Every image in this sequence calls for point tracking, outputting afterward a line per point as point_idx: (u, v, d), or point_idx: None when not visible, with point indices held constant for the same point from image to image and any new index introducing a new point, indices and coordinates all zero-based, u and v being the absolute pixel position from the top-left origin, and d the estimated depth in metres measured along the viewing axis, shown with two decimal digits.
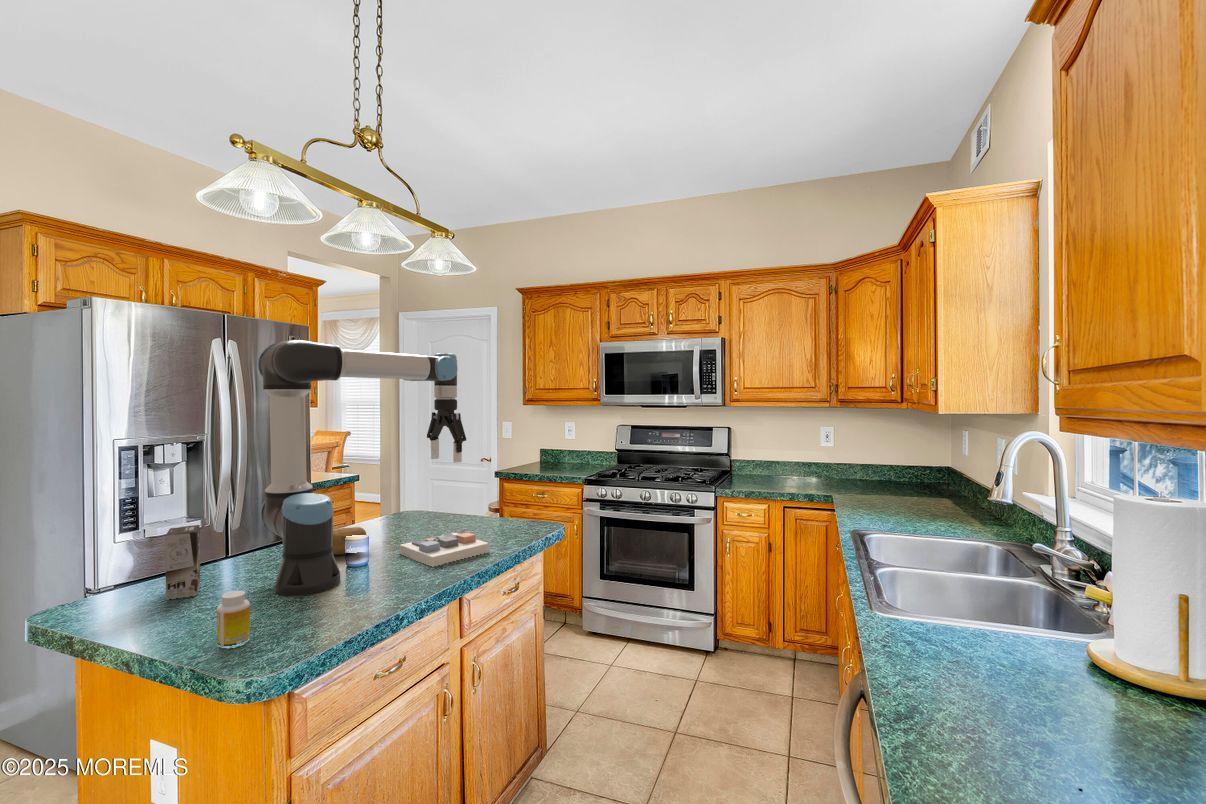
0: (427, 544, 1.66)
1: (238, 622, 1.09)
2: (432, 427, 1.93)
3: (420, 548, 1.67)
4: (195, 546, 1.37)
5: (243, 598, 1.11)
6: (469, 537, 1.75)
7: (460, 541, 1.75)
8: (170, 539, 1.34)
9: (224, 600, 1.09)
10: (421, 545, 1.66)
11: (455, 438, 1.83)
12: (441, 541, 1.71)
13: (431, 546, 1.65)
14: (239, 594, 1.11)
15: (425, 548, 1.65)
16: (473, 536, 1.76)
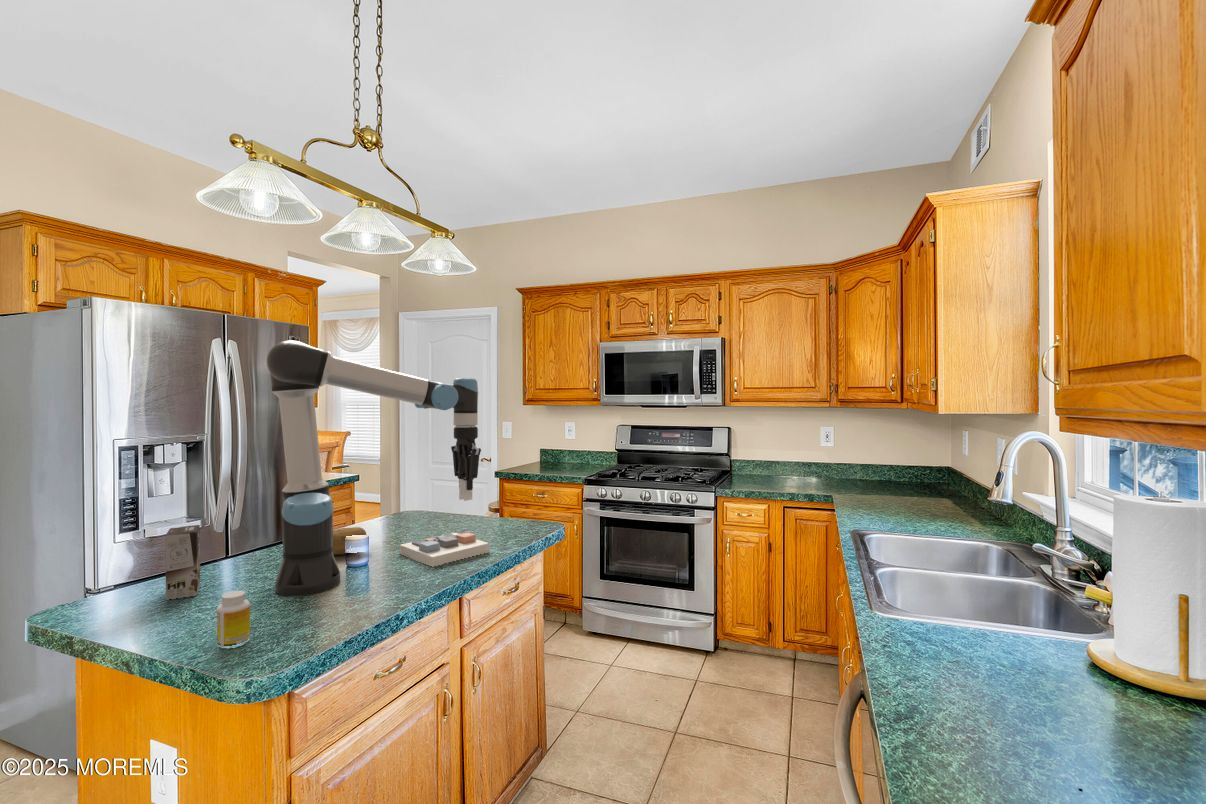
0: (427, 544, 1.66)
1: (238, 622, 1.09)
2: (456, 462, 1.79)
3: (420, 548, 1.67)
4: (195, 546, 1.37)
5: (243, 598, 1.11)
6: (469, 537, 1.75)
7: (460, 541, 1.75)
8: (170, 539, 1.34)
9: (224, 600, 1.09)
10: (421, 545, 1.66)
11: (467, 475, 1.74)
12: (441, 541, 1.71)
13: (431, 546, 1.65)
14: (239, 594, 1.11)
15: (425, 548, 1.65)
16: (473, 536, 1.76)
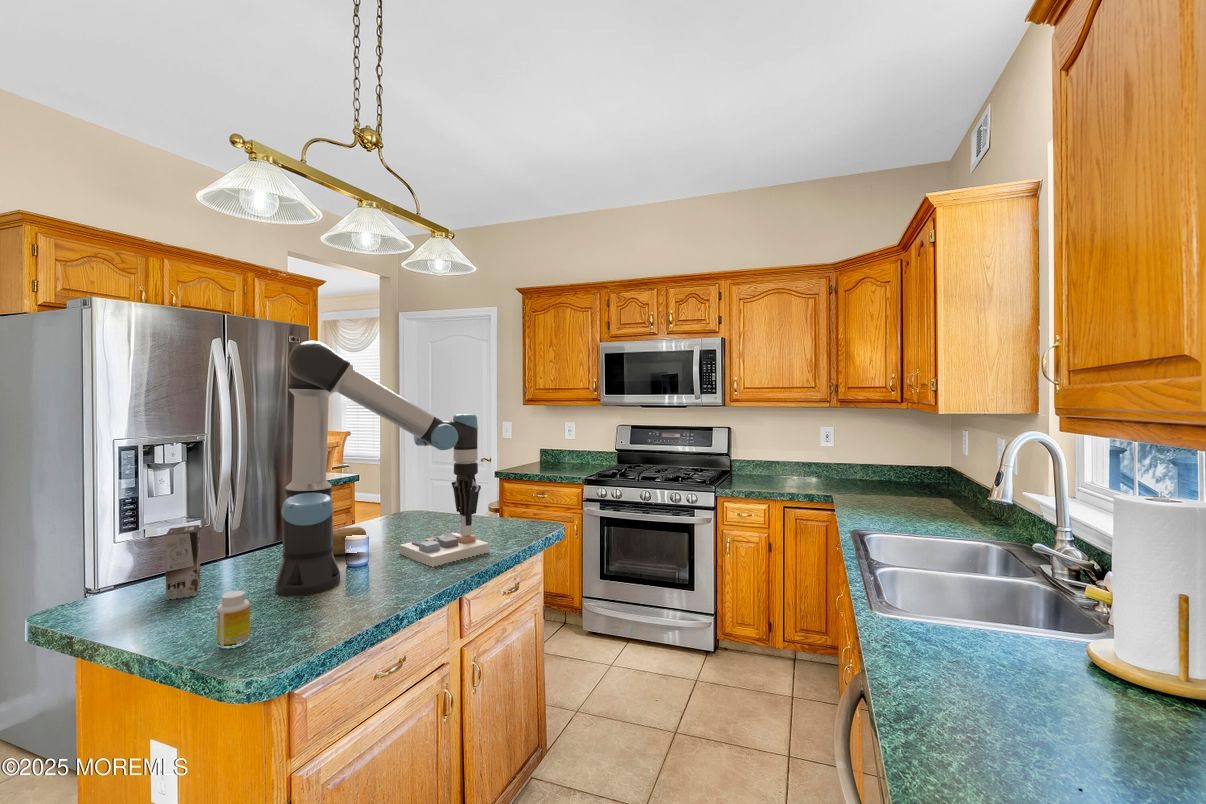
0: (427, 544, 1.66)
1: (238, 622, 1.09)
2: (458, 497, 1.78)
3: (420, 548, 1.67)
4: (195, 546, 1.37)
5: (243, 598, 1.11)
6: (469, 538, 1.75)
7: (460, 542, 1.75)
8: (170, 539, 1.34)
9: (224, 600, 1.09)
10: (421, 545, 1.66)
11: (466, 511, 1.75)
12: (441, 541, 1.71)
13: (431, 546, 1.65)
14: (239, 594, 1.11)
15: (425, 548, 1.65)
16: (473, 537, 1.77)
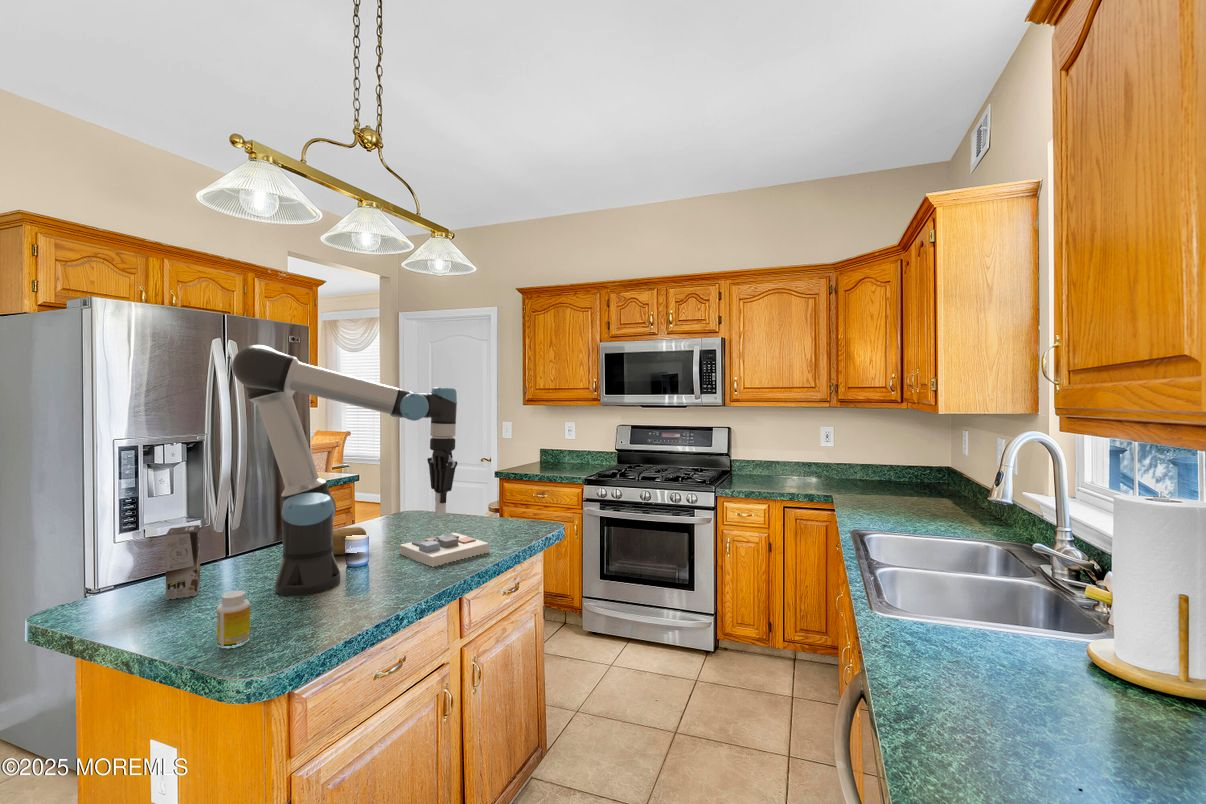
0: (427, 544, 1.66)
1: (238, 622, 1.09)
2: (433, 474, 1.72)
3: (420, 548, 1.67)
4: (195, 546, 1.37)
5: (243, 598, 1.11)
6: (469, 542, 1.75)
7: None
8: (170, 539, 1.34)
9: (224, 600, 1.09)
10: (421, 545, 1.66)
11: (440, 488, 1.68)
12: (441, 541, 1.71)
13: (431, 546, 1.65)
14: (239, 594, 1.11)
15: (425, 548, 1.65)
16: (473, 541, 1.77)
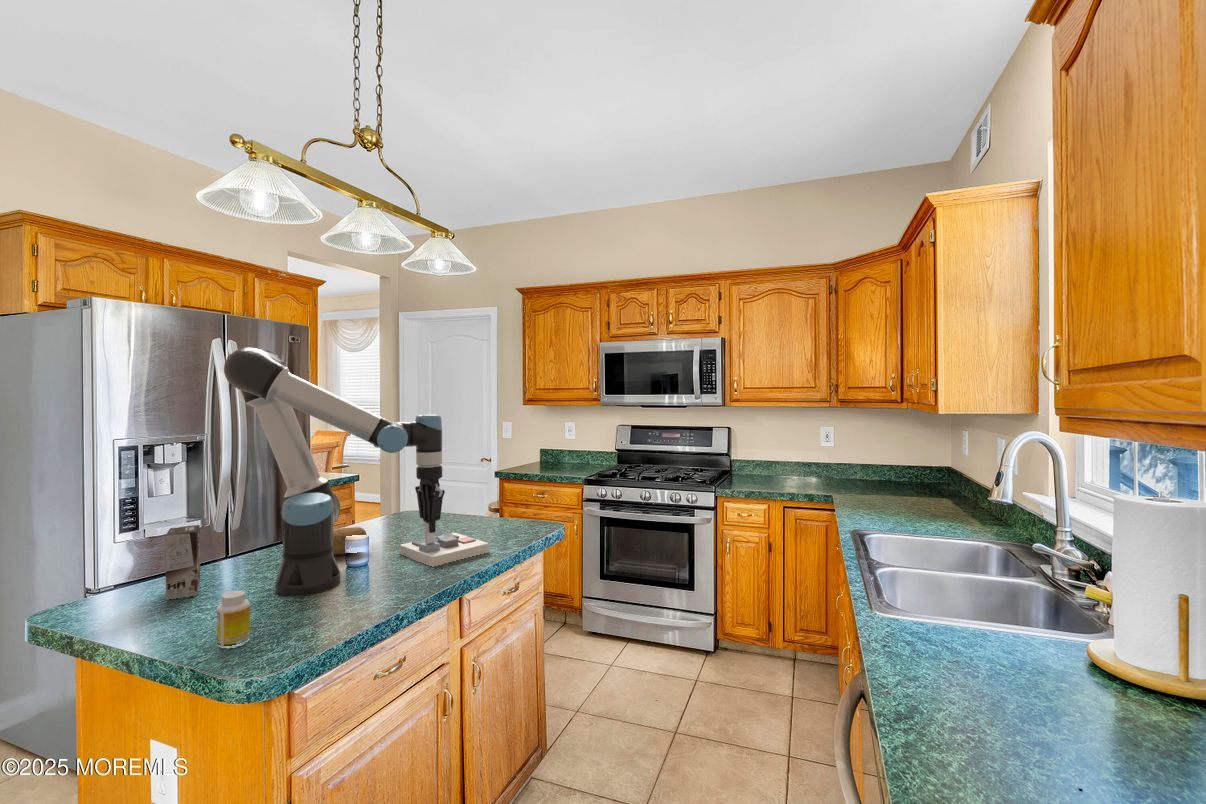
0: (427, 544, 1.66)
1: (238, 622, 1.09)
2: (421, 503, 1.69)
3: (420, 548, 1.67)
4: (195, 546, 1.37)
5: (243, 598, 1.11)
6: (469, 542, 1.75)
7: None
8: (170, 539, 1.34)
9: (224, 600, 1.09)
10: (421, 545, 1.66)
11: (429, 517, 1.65)
12: (441, 541, 1.71)
13: (431, 546, 1.65)
14: (239, 594, 1.11)
15: (425, 548, 1.65)
16: (473, 541, 1.77)
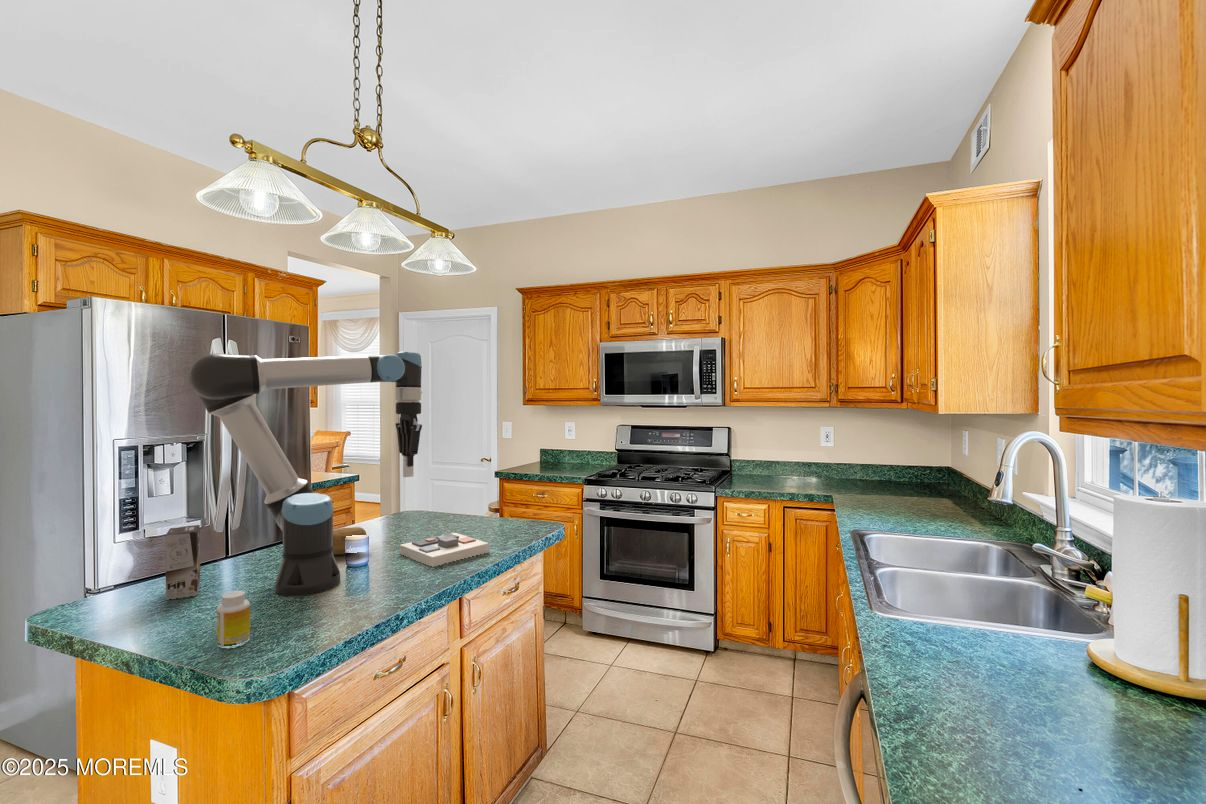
0: (427, 549, 1.66)
1: (238, 622, 1.09)
2: (401, 438, 1.74)
3: None
4: (195, 546, 1.37)
5: (243, 598, 1.11)
6: (469, 542, 1.75)
7: None
8: (170, 539, 1.34)
9: (224, 600, 1.09)
10: (421, 550, 1.66)
11: (407, 451, 1.70)
12: (441, 541, 1.71)
13: (431, 551, 1.65)
14: (239, 594, 1.11)
15: None
16: (473, 541, 1.77)
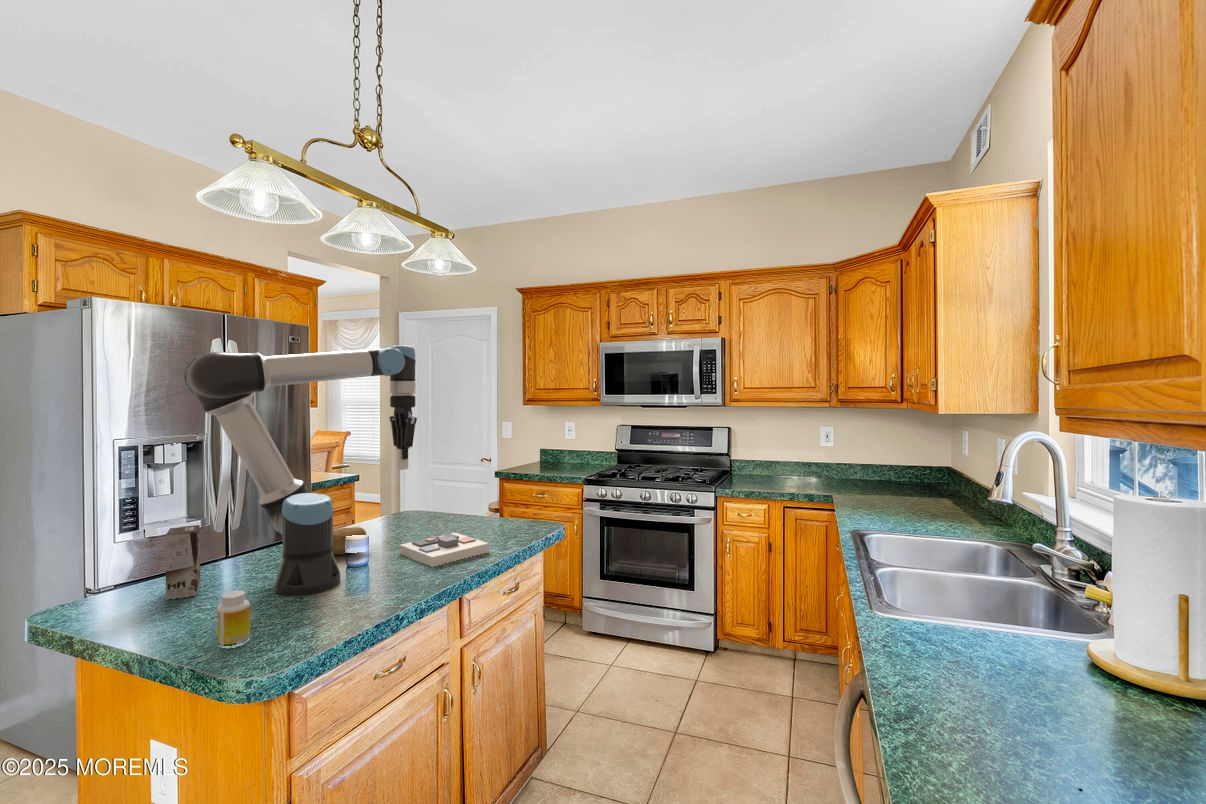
0: (427, 549, 1.66)
1: (238, 622, 1.09)
2: (395, 431, 1.76)
3: None
4: (195, 546, 1.37)
5: (243, 598, 1.11)
6: (469, 542, 1.75)
7: None
8: (170, 539, 1.34)
9: (224, 600, 1.09)
10: (421, 550, 1.66)
11: (402, 444, 1.72)
12: (441, 541, 1.71)
13: (431, 551, 1.65)
14: (239, 594, 1.11)
15: None
16: (473, 541, 1.77)
